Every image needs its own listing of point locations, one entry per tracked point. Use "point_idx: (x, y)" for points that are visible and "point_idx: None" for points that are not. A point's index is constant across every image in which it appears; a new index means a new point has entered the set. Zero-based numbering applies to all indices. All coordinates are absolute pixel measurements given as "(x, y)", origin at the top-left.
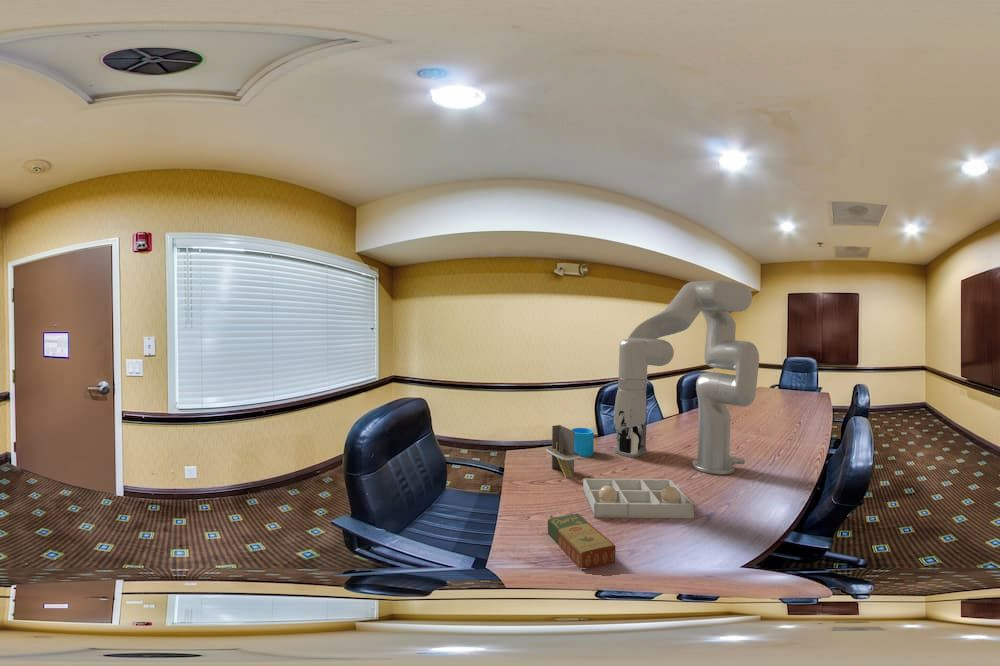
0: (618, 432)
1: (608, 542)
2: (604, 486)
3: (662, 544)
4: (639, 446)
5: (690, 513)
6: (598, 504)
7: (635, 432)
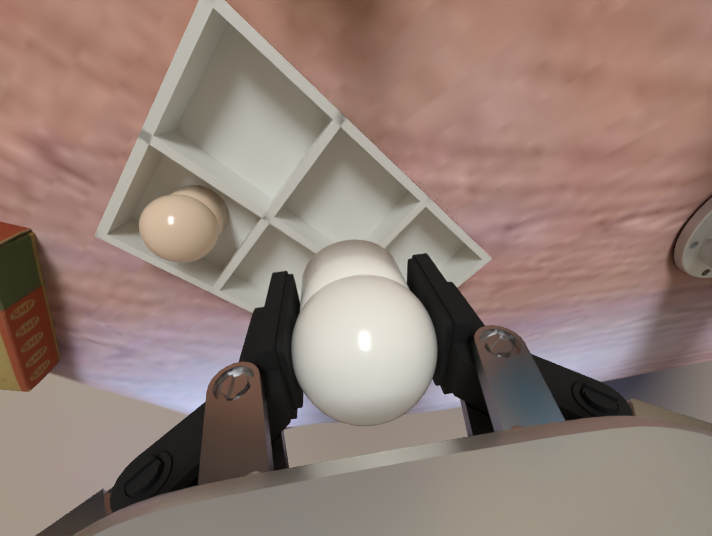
0: (134, 467)
1: (14, 383)
2: (153, 232)
3: (207, 363)
4: None
5: None
6: (111, 243)
7: (460, 381)
